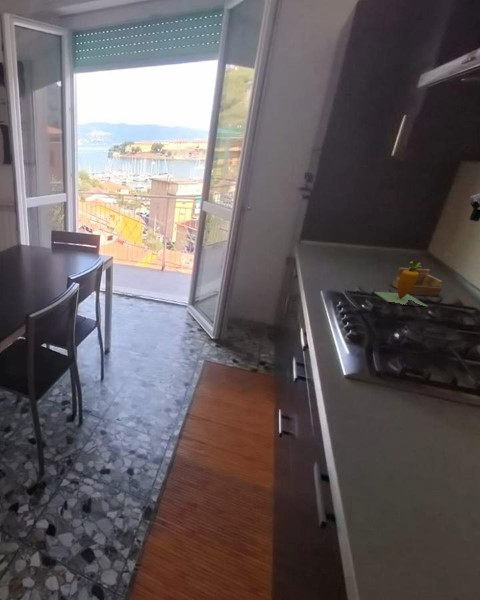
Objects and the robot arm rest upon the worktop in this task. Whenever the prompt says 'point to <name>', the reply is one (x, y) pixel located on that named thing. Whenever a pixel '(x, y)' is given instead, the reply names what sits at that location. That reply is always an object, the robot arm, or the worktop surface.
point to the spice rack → (421, 283)
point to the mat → (397, 298)
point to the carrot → (407, 280)
